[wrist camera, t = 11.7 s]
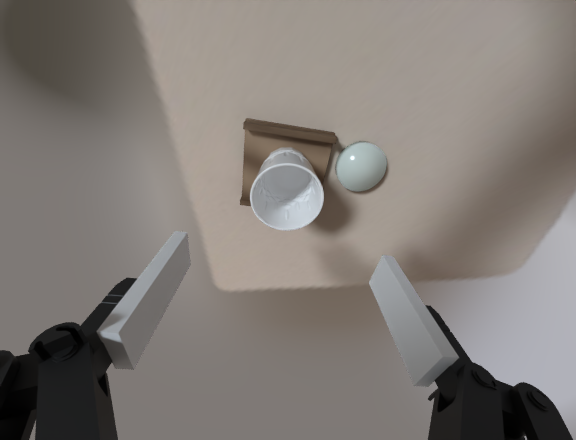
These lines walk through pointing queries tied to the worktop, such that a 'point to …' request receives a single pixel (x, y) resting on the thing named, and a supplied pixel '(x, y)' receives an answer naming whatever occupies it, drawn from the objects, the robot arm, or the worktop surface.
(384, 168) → the pale mint domed disc
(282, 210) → the white cup
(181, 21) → the worktop surface
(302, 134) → the stand
